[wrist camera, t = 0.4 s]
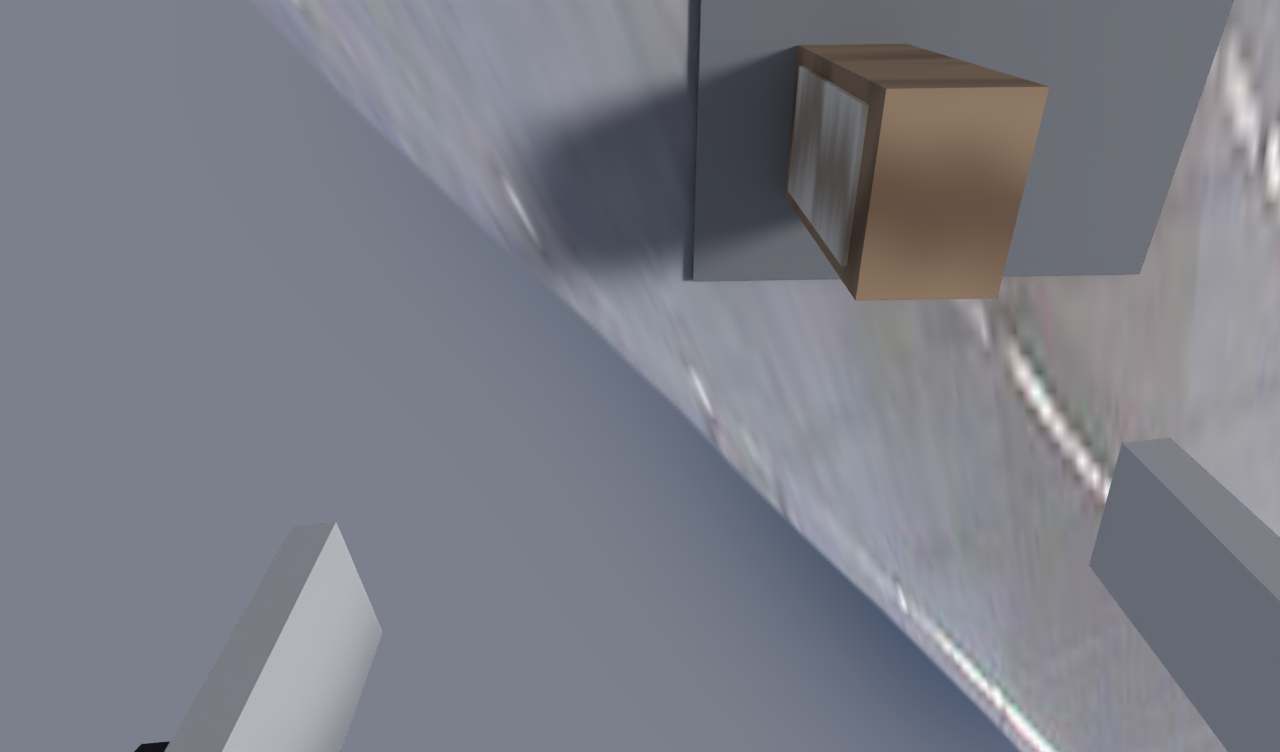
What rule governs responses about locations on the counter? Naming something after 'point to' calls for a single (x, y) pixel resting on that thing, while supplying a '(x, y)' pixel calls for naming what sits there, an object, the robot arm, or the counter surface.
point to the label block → (910, 167)
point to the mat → (979, 34)
